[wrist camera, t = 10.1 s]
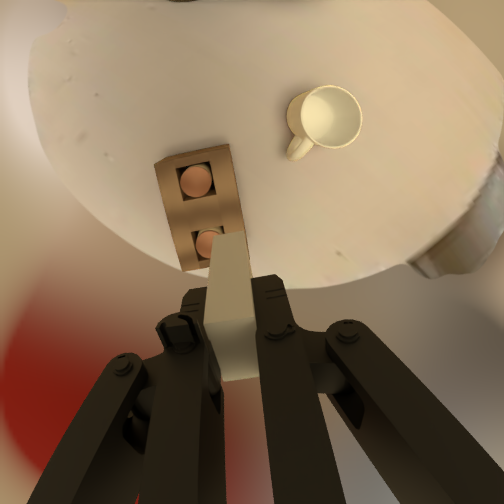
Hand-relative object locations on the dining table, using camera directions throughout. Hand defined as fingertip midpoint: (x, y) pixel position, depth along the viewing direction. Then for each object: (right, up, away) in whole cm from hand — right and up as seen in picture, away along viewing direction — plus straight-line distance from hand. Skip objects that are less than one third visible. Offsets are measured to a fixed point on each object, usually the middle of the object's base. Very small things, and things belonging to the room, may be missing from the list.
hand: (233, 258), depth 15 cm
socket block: (-6, +9, +32) cm, 34 cm away
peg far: (-5, +4, +33) cm, 34 cm away
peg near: (-7, +12, +29) cm, 32 cm away
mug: (+9, +20, +28) cm, 36 cm away
